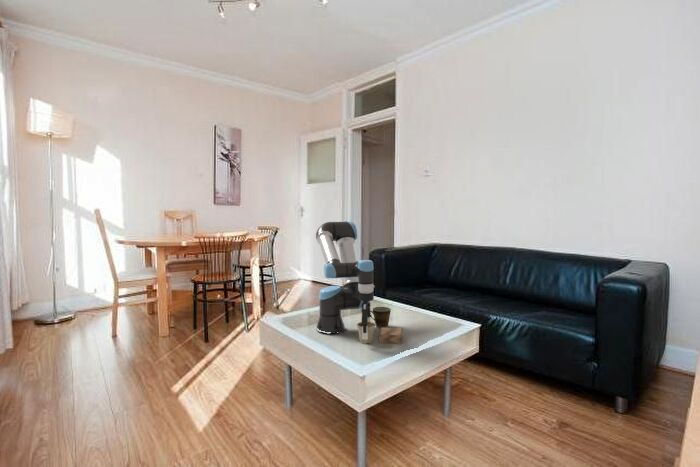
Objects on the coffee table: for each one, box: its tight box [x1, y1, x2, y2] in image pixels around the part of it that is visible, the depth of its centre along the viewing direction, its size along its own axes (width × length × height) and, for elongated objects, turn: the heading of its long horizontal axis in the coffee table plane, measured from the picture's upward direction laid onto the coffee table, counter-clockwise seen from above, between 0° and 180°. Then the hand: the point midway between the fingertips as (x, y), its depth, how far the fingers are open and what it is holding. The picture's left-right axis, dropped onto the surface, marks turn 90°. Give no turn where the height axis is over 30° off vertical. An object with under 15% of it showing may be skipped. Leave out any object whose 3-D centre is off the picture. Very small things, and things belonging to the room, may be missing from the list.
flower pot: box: [356, 321, 376, 345], centre depth 177 cm, size 9×9×9 cm
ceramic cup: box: [370, 306, 392, 329], centre depth 199 cm, size 13×10×10 cm
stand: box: [378, 327, 403, 344], centre depth 180 cm, size 11×11×4 cm
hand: (366, 334), depth 177 cm, fingers open, 13 cm apart
